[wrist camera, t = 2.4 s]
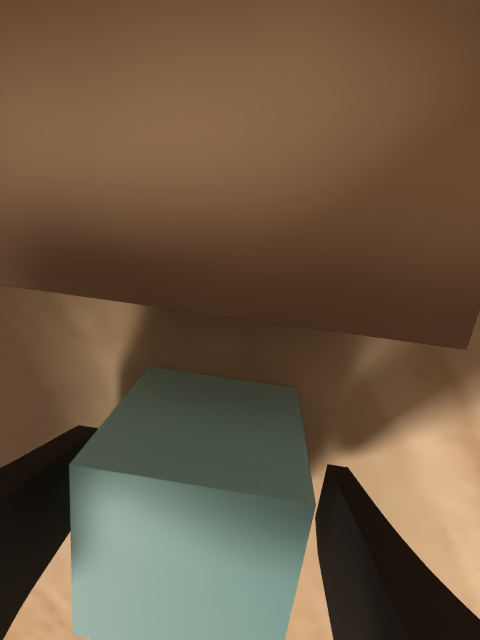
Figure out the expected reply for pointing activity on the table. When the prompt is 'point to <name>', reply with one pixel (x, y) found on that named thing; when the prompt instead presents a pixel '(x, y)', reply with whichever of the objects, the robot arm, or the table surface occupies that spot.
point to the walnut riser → (247, 159)
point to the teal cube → (191, 512)
